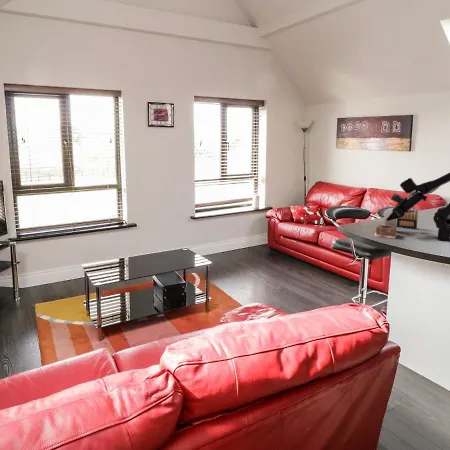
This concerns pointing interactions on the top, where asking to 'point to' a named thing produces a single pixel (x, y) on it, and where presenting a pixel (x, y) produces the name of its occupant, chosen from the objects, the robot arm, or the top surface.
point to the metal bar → (391, 222)
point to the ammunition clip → (408, 220)
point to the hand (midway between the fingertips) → (387, 218)
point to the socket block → (386, 231)
